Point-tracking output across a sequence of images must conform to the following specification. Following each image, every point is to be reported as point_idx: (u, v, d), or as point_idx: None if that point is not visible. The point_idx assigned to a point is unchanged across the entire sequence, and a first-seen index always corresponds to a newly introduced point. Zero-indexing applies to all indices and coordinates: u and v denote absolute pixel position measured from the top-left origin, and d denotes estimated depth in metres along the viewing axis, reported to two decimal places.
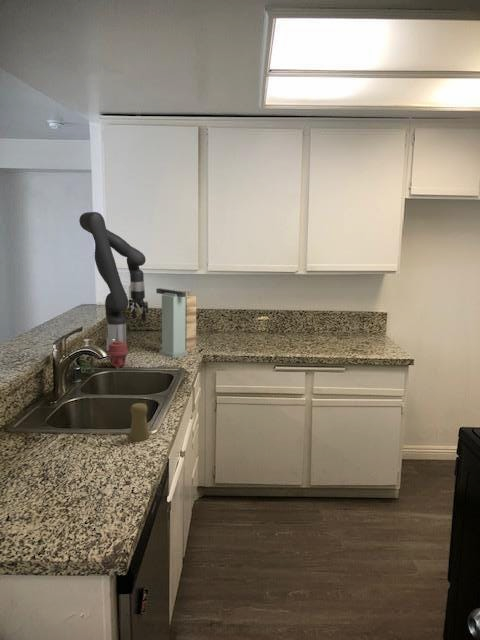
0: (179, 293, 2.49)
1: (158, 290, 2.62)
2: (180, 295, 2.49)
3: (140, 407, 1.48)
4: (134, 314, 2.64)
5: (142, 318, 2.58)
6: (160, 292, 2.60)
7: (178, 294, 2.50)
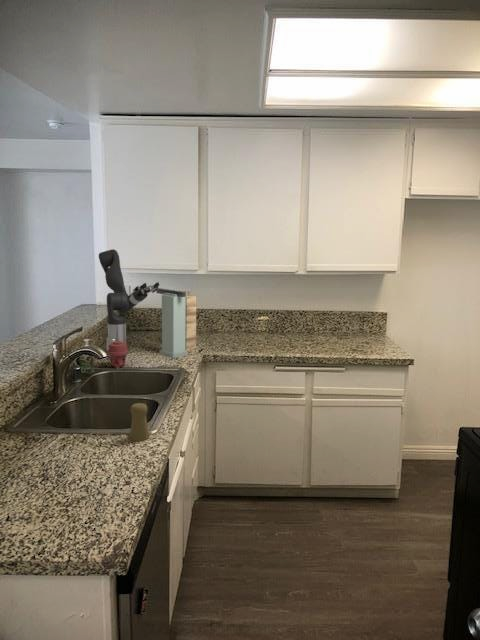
0: (179, 293, 2.49)
1: (158, 290, 2.62)
2: (180, 295, 2.49)
3: (140, 407, 1.48)
4: None
5: None
6: (160, 292, 2.60)
7: (178, 294, 2.50)
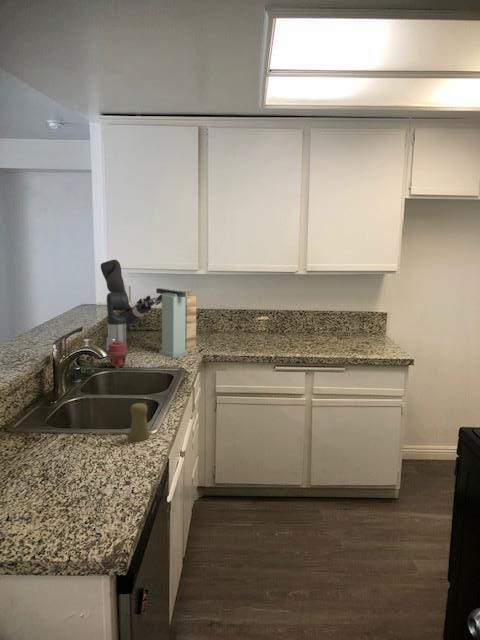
0: (179, 293, 2.49)
1: (158, 290, 2.62)
2: (180, 295, 2.49)
3: (140, 407, 1.48)
4: None
5: None
6: (160, 292, 2.60)
7: (178, 294, 2.50)
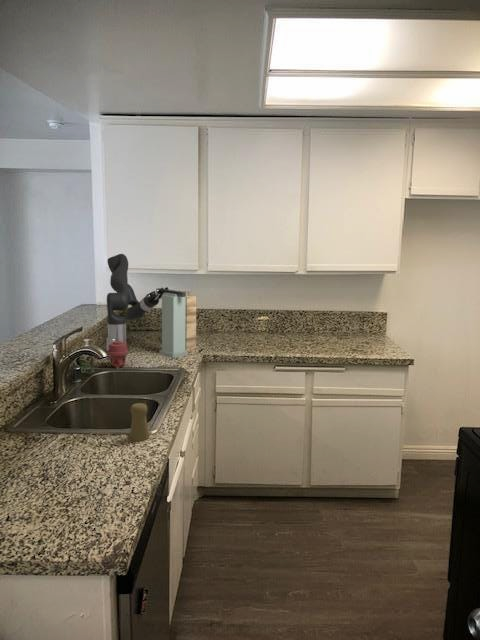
0: (179, 293, 2.49)
1: None
2: (180, 295, 2.49)
3: (140, 407, 1.48)
4: None
5: None
6: None
7: (178, 294, 2.50)
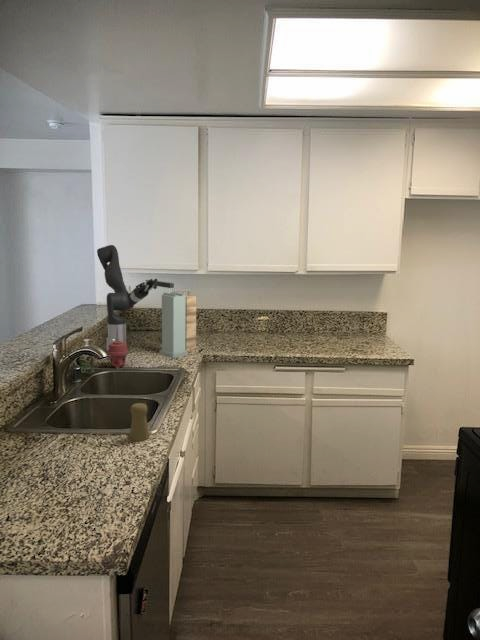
0: (167, 284, 2.55)
1: (147, 281, 2.68)
2: (168, 286, 2.55)
3: (140, 407, 1.48)
4: None
5: None
6: None
7: (166, 285, 2.56)
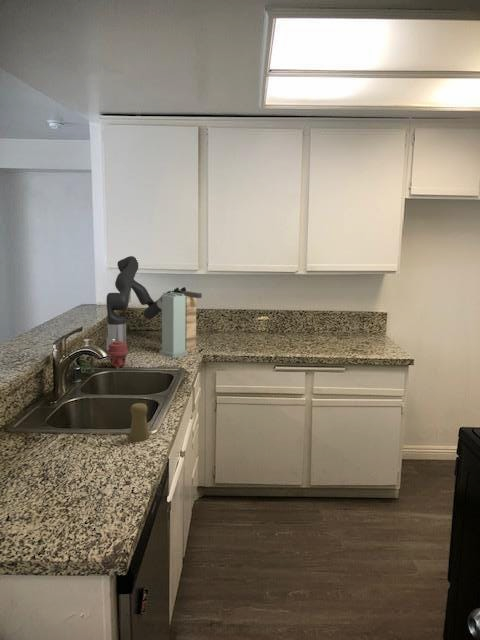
0: (195, 294, 2.63)
1: None
2: (196, 296, 2.62)
3: (140, 407, 1.48)
4: None
5: None
6: None
7: (194, 295, 2.63)
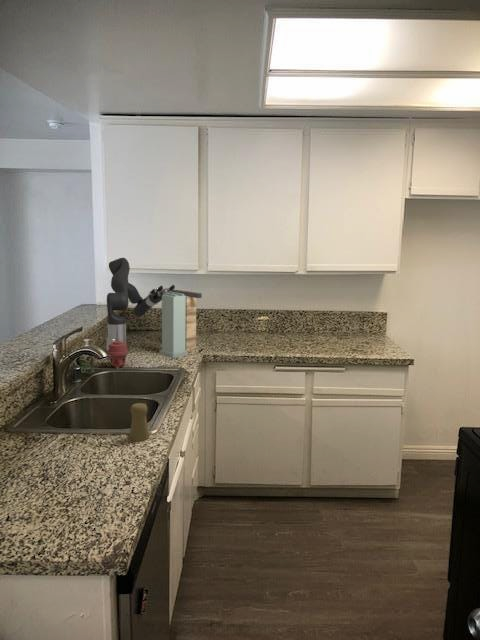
0: (195, 294, 2.63)
1: (175, 291, 2.75)
2: (196, 296, 2.62)
3: (140, 407, 1.48)
4: None
5: None
6: None
7: (194, 295, 2.63)
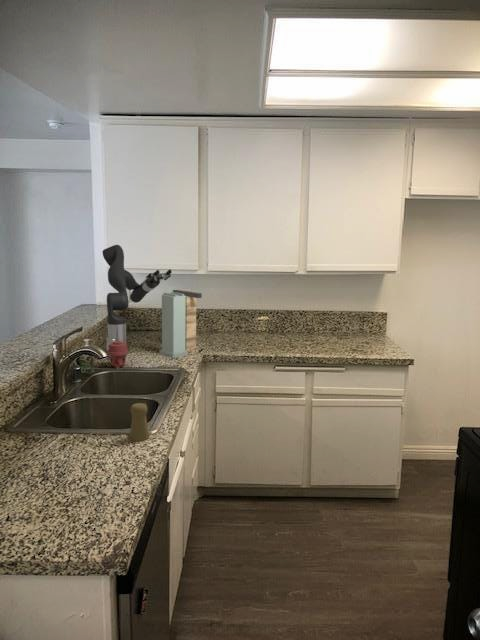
0: (195, 294, 2.63)
1: (175, 291, 2.75)
2: (196, 296, 2.62)
3: (140, 407, 1.48)
4: None
5: None
6: None
7: (194, 295, 2.63)
